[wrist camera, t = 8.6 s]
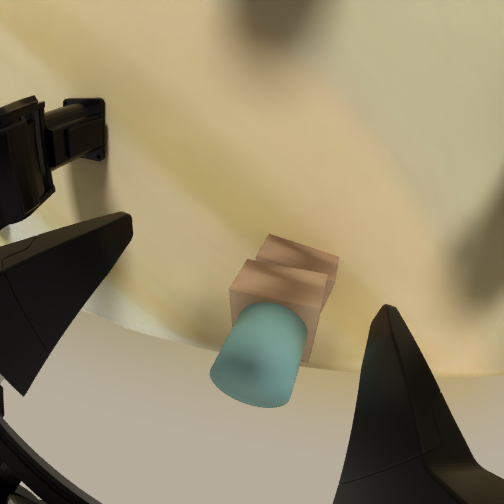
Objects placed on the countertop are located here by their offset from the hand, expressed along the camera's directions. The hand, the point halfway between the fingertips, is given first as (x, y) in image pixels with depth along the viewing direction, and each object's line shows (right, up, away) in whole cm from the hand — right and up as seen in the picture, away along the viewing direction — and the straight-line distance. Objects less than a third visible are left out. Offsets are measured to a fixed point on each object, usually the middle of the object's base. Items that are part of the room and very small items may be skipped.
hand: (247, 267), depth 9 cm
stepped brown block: (+3, -3, +13) cm, 14 cm away
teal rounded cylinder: (+2, -5, +10) cm, 12 cm away
